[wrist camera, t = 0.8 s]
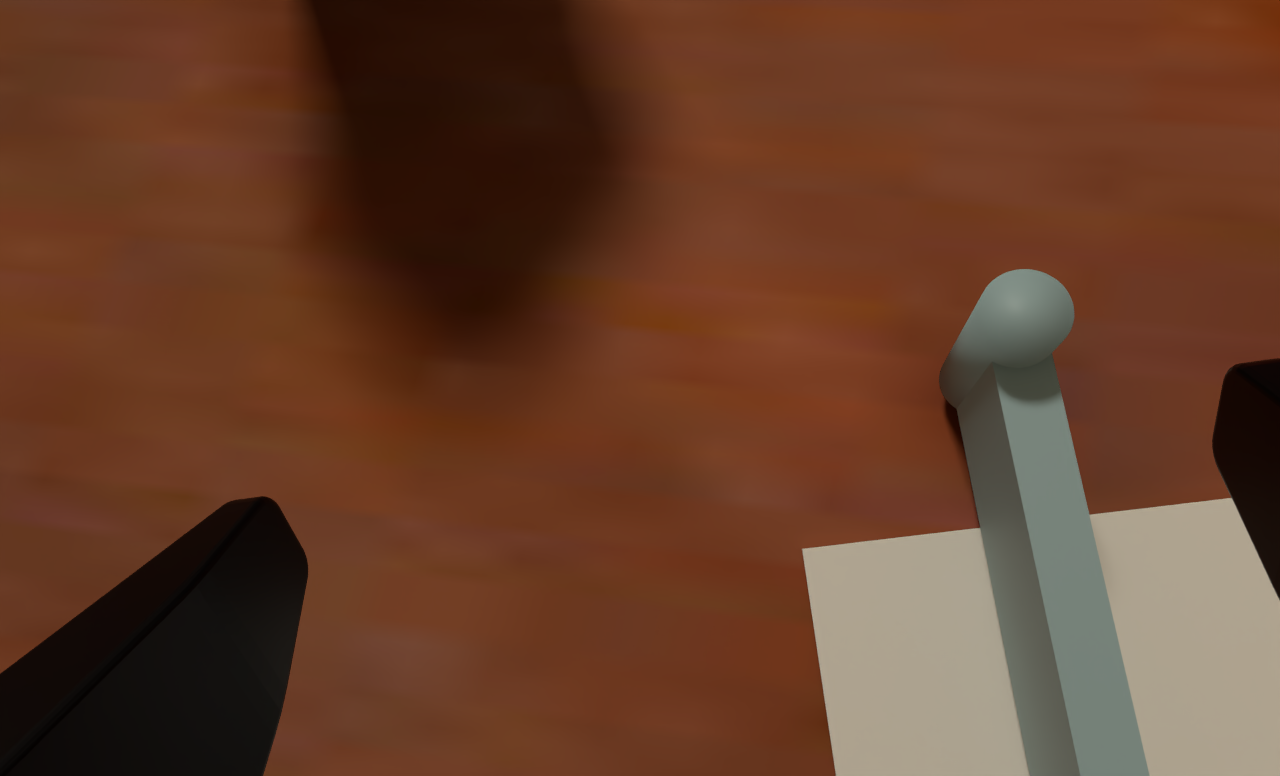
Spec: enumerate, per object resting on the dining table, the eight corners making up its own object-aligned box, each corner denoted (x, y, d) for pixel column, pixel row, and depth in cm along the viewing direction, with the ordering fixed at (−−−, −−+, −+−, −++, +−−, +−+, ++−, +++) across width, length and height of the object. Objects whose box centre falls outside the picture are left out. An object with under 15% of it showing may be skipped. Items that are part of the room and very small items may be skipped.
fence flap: (1106, 812, 21) (1212, 879, 16) (1024, 819, 21) (1100, 887, 16) (1004, 342, 24) (1063, 262, 19) (933, 352, 24) (970, 276, 19)
